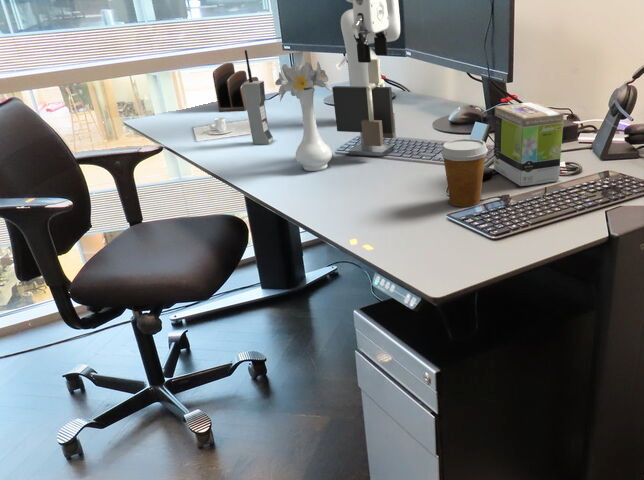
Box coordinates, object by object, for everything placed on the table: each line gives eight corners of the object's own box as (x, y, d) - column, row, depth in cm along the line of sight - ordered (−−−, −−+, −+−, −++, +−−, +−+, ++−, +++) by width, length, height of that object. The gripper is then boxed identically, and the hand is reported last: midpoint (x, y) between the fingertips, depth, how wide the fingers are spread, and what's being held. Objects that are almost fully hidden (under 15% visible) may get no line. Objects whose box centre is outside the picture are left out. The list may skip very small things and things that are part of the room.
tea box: (560, 181, 145) (565, 112, 137) (519, 188, 143) (522, 118, 135) (530, 164, 157) (533, 99, 149) (492, 170, 155) (492, 105, 147)
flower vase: (325, 154, 176) (313, 54, 163) (349, 171, 162) (338, 62, 148) (279, 163, 172) (262, 60, 158) (299, 181, 158) (283, 70, 144)
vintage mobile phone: (269, 144, 189) (253, 50, 176) (253, 144, 190) (236, 51, 177) (273, 141, 192) (258, 48, 179) (257, 141, 193) (241, 49, 180)
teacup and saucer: (208, 130, 209) (205, 117, 207) (232, 127, 211) (230, 114, 209) (210, 136, 202) (207, 123, 200) (235, 133, 204) (233, 119, 202)
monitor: (350, 147, 181) (344, 82, 172) (403, 150, 175) (399, 82, 166) (339, 154, 176) (331, 87, 166) (393, 157, 170) (388, 88, 161)
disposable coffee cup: (439, 196, 142) (437, 140, 135) (482, 192, 142) (482, 136, 136) (445, 211, 134) (444, 152, 127) (491, 207, 134) (492, 148, 128)
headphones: (378, 135, 174) (372, 55, 164) (395, 136, 173) (390, 55, 162) (363, 145, 167) (355, 62, 157) (380, 146, 165) (374, 62, 155)
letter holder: (219, 111, 233) (210, 69, 226) (237, 99, 250) (230, 60, 242) (245, 110, 232) (237, 68, 224) (262, 98, 248) (255, 58, 241)
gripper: (365, -19, 142) (372, 65, 152) (396, -26, 155) (401, 52, 165) (335, -18, 145) (343, 65, 155) (368, -25, 158) (374, 52, 167)
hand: (373, 58), depth 160 cm, fingers open, 9 cm apart
